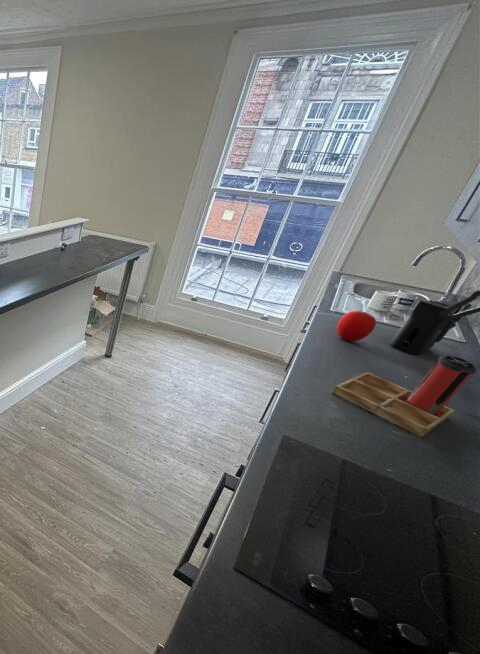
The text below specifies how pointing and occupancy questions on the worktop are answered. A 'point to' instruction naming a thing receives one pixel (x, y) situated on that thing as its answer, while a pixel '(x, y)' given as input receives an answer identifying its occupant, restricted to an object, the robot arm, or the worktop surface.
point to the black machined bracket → (423, 326)
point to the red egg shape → (355, 325)
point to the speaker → (440, 384)
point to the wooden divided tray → (390, 403)
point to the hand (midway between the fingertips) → (469, 352)
